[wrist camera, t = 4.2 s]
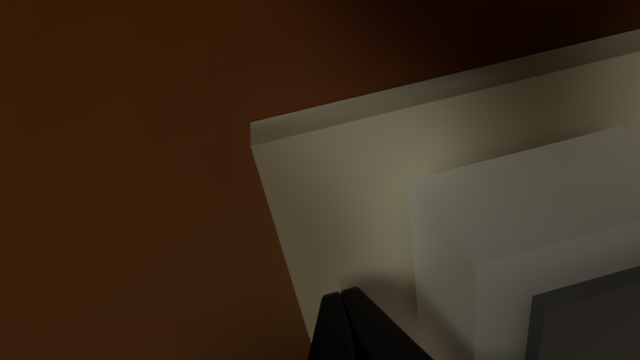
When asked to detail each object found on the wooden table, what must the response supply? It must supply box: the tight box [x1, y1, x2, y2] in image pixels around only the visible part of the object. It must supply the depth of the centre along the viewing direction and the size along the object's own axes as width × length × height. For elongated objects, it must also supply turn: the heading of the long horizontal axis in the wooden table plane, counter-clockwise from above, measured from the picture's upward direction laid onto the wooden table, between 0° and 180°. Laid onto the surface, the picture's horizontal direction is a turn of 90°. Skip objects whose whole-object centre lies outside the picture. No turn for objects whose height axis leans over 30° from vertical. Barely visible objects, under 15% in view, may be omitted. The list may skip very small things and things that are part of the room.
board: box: [250, 29, 640, 356], centre depth 11 cm, size 18×12×2 cm, turn 101°
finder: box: [406, 126, 640, 360], centre depth 8 cm, size 5×5×3 cm
